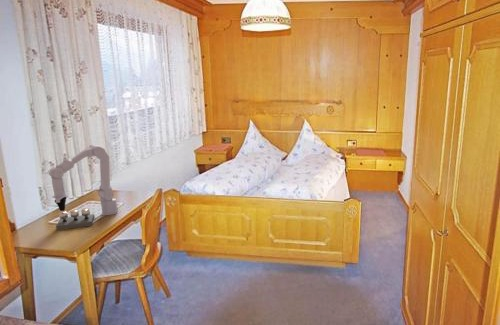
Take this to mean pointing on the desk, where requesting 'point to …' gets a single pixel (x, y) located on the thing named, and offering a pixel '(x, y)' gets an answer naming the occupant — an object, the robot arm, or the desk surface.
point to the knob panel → (75, 222)
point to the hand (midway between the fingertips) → (62, 210)
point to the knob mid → (74, 214)
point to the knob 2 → (85, 212)
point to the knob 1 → (63, 215)
